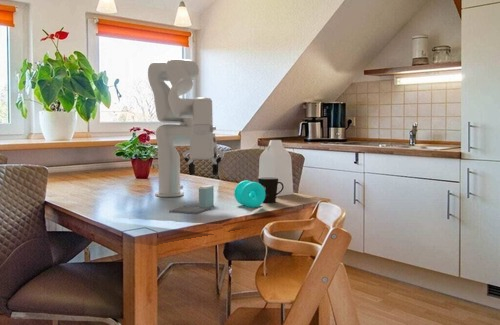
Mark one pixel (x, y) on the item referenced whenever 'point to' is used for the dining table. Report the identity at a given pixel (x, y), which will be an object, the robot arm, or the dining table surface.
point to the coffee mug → (270, 188)
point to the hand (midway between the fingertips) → (203, 174)
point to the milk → (277, 166)
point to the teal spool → (249, 188)
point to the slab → (206, 196)
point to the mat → (190, 209)
